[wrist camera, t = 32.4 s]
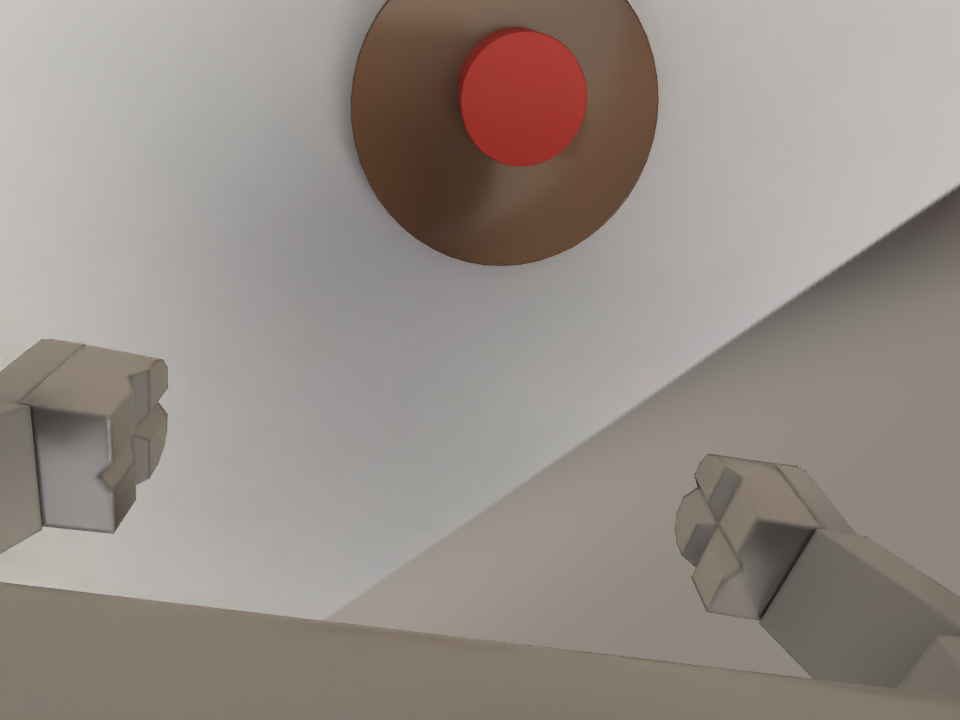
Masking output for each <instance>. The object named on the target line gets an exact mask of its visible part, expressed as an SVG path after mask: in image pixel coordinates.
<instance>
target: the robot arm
mask: <svg viewBox="0 0 960 720" xmlns="http://www.w3.org/2000/svg"><path fill="white" fill-rule="evenodd" d="M167 388H168V368H167V365H166V363H165V362H164V360H163V359H158V358H153V357H147V356H142V355H137V354H132V353H126V352H121V351H116V350H111V349H105V348H100V347H95V346H87V345H85V344H81V343H74V342H68V341H61V340H55V339H41V340H40V341H38V342H37V343H36V344H35V345H33V346H32V347H31V348H30V349H28V350H27V351H26V352H25V353H23V354H22V355H21V356H20V357H18V358H17V359H16V360H14V361H13V362H12V363H11V364H9V365H8V366H7V367H6V368H4V369H3V370H2V371H1V372H0V554H1V553H3V552H4V551H6V550H8V549H9V548H11V547H13V546H15V545H16V544H18V543H20V542H21V541H23V540H25V539H27V538H28V537H30V536H32V535H34V534H35V533H37V532H39V531H40V530H42V526H46V527H55V528H64V529H74V530H83V531H93V532H102V533H112V534H114V532H115V531H116V529H117V528H118V526H119V525H120V523H121V522H122V520H123V518H124V517H125V515H126V514H127V512H128V511H129V509H130V508H131V506H132V505H133V503H134V502H135V500H136V484H138V483H140V482H142V481H145V480H147V479H149V478H150V476H151V475H152V473H153V471H154V470H155V468H156V467H157V465H158V462H159V460H160V457H161V454H162V451H163V448H164V445H165V439H166V433H167V417H168V414H167V413H166V412H165V410H164V409H163V408H162V406H161V405H160V404H159V402H158V401H159V399H160V398H161V397H162V395H163V394H164V392H165V391H166V390H167ZM694 476H695V479H696V483H697V486H698V487H697V488H696V489H694V490H693V491H691V492H690V493H688V494H687V495H685V496H684V497H683V499H682V501H681V504H680V506H679V509H678V511H677V514H676V523H675V535H676V542H677V545H678V547H679V550H680V552H681V555H682V556H683V557H684V558H685V559H687V560H688V561H689V562H690V563H691V564H692V565H693V566H695V567H696V569H695V571H694V573H693V575H692V580H693V582H694V584H695V587H696V589H697V591H698V593H699V595H700V598H701V600H702V602H703V604H704V607H705V609H706V611H707V612H709V613H715V614H722V615H728V616H734V617H740V618H746V619H753V620H759V621H760V622H759V623H760V625H761V626H762V627H763V628H765V630H766V631H767V632H768V633H769V634H770V635H771V636H772V637H773V638H774V639H775V640H776V641H777V642H778V643H779V644H780V645H781V646H782V647H783V648H784V649H785V650H786V652H787V653H788V654H789V655H790V656H791V657H792V658H793V659H794V660H795V661H796V662H797V663H798V664H799V665H800V666H801V667H802V668H803V669H804V670H805V671H806V672H807V673H808V674H809V675H810V676H811V677H812V678H813V679H810V678H801V677H793V676H785V675H777V674H768V673H760V672H751V671H742V670H734V669H726V668H718V667H709V666H700V665H692V664H684V663H676V662H667V661H659V660H650V659H641V658H634V657H625V656H616V655H608V654H599V653H592V652H583V651H575V650H566V649H558V648H549V647H540V646H532V645H523V644H515V643H506V642H497V641H490V640H481V639H473V638H464V637H456V636H448V635H439V634H431V633H422V632H413V631H405V630H397V629H389V628H381V627H372V626H363V625H355V624H346V623H338V622H330V621H322V620H313V619H305V618H297V617H288V616H280V615H271V614H263V613H255V612H246V611H238V610H229V609H221V608H213V607H204V606H196V605H187V604H179V603H171V602H162V601H154V600H145V599H137V598H129V597H120V596H112V595H103V594H95V593H87V592H78V591H70V590H61V589H53V588H45V587H36V586H28V585H20V584H11V583H3V582H0V720H960V596H958V595H956V594H955V593H953V592H952V591H950V590H949V589H947V588H946V587H944V586H942V585H941V584H939V583H938V582H936V581H935V580H933V579H932V578H930V577H928V576H927V575H925V574H923V573H922V572H921V571H919V570H917V569H916V568H915V567H913V566H911V565H910V564H908V563H907V562H905V561H904V560H902V559H900V558H899V557H897V556H896V555H894V554H893V553H891V552H890V551H888V550H887V549H885V548H883V547H882V546H880V545H879V544H877V543H876V542H874V541H873V540H871V539H869V538H868V537H865V536H859V535H857V534H856V533H855V531H854V530H853V529H852V528H851V526H850V525H849V524H848V523H847V522H846V520H845V519H844V518H843V516H842V515H841V514H840V513H839V511H838V510H837V509H836V508H835V506H834V505H833V504H832V503H831V501H830V500H829V499H828V498H827V496H826V495H825V494H824V493H823V491H822V490H821V489H820V488H819V486H818V485H817V484H816V483H815V482H814V480H813V479H812V478H811V476H810V475H809V474H808V473H807V472H806V470H804V469H802V468H799V467H798V466H793V465H785V464H778V463H777V464H776V463H770V462H762V461H755V460H748V459H741V458H734V457H728V456H721V455H713V454H708V455H706V456H705V458H704V459H703V460H702V461H701V462H700V464H699V466H698V467H697V470H696V472H695V474H694Z"/></svg>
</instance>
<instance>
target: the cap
mask: <svg viewBox="0 0 960 720" xmlns="http://www.w3.org/2000/svg"><path fill="white" fill-rule="evenodd" d="M458 96H459V103H460V109H461V114H462V118H463V122H464V125H465V128H466V130H467V132H468V134H469V136H470V138H471V139H472V140H473V142H474V143H475V145H476V146H477V147H478V148H479V149H480V150H481V151H482V152H483V153H485V154H486V155H487V156H489V157H490V158H492V159H493V160H496V161H498V162H500V163H503V164H506V165H511V166H532V165H536V164H540V163H543V162H545V161H547V160H549V159H551V158H553V157H555V156H556V155H557V154H559V153H560V152H561V151H563V150H564V149H565V148H566V147H567V146H568V145H569V143H570V142H571V141H572V140H573V138H574V137H575V135H576V134H577V132H578V130H579V128H580V126H581V124H582V121H583V118H584V115H585V110H586V104H587V88H586V81H585V77H584V74H583V71H582V69H581V66H580V64H579V62H578V61H577V59H576V57H575V56H574V55H573V53H572V52H571V51H570V50H569V49H568V48H567V47H566V46H565V45H564V44H563V43H561V42H560V41H559V40H557V39H555V38H553V37H552V36H550V35H547V34H544V33H541V32H538V31H534V30H531V29H527V28H522V27H509V28H504V29H500V30H497V31H494V32H492V33H490V34H489V35H487V36H485V37H484V38H483V39H481V40H480V41H479V42H478V43H477V44H476V45H475V46H474V47H473V48H472V49H471V51H470V52H469V54H468V55H467V57H466V59H465V61H464V63H463V66H462V68H461V72H460V75H459V82H458Z"/></svg>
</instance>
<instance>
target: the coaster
mask: <svg viewBox="0 0 960 720" xmlns="http://www.w3.org/2000/svg"><path fill="white" fill-rule="evenodd" d="M509 27H522V28H527V29H531V30H534V31H538V32H541V33H544V34H547V35H550V36H552V37H553V38H555V39H557V40H559V41H560V42H561V43H563V44H564V45H565V46H566V47H567V48H568V49H569V50H570V51H571V52H572V53H573V55H574V56H575V57H576V59H577V61H578V62H579V64H580V66H581V69H582V71H583V74H584V77H585V81H586V88H587V104H586V110H585V115H584V118H583V121H582V124H581V126H580V128H579V130H578V132H577V134H576V135H575V137H574V138H573V140H572V141H571V142H570V143H569V145H568V146H567V147H566V148H565V149H564V150H563V151H561V152H560V153H559V154H557V155H556V156H555V157H553V158H551V159H549V160H547V161H545V162H543V163H540V164H536V165H532V166H511V165H506V164H503V163H500V162H498V161H496V160H493V159H492V158H490V157H489V156H487V155H486V154H485V153H483V152H482V151H481V150H480V149H479V148H478V147H477V146H476V145H475V143H474V142H473V140H472V139H471V138H470V136H469V134H468V132H467V130H466V128H465V125H464V122H463V118H462V114H461V109H460V103H459V96H458V82H459V75H460V72H461V68H462V66H463V63H464V61H465V59H466V57H467V55H468V54H469V52H470V51H471V49H472V48H473V47H474V46H475V45H476V44H477V43H478V42H479V41H480V40H481V39H483V38H484V37H485V36H487V35H489V34H490V33H492V32H494V31H497V30H500V29H504V28H509ZM657 114H658V82H657V73H656V68H655V63H654V57H653V54H652V51H651V47H650V44H649V41H648V38H647V35H646V33H645V31H644V29H643V27H642V25H641V23H640V20H639V18H638V16H637V15H636V13H635V12H634V10H633V9H632V7H631V5H630V4H629V2H628V1H627V0H387V1H386V3H385V4H384V5H383V7H382V8H381V10H380V11H379V12H378V14H377V15H376V17H375V19H374V21H373V23H372V25H371V27H370V29H369V30H368V32H367V34H366V37H365V39H364V42H363V45H362V47H361V50H360V53H359V55H358V59H357V63H356V68H355V72H354V76H353V84H352V94H351V122H352V129H353V135H354V142H355V146H356V149H357V153H358V157H359V160H360V163H361V166H362V168H363V171H364V173H365V175H366V178H367V180H368V182H369V184H370V186H371V187H372V189H373V191H374V193H375V194H376V196H377V198H378V199H379V201H380V202H381V203H382V205H383V206H384V207H385V209H386V210H387V211H388V213H389V214H390V215H391V216H392V217H393V218H394V219H395V220H396V221H397V222H398V223H399V224H400V225H401V226H402V227H403V228H404V229H405V230H406V231H407V232H409V233H410V234H411V235H412V236H414V237H415V238H416V239H417V240H419V241H421V242H422V243H424V244H426V245H427V246H429V247H431V248H432V249H434V250H436V251H438V252H441V253H443V254H445V255H447V256H449V257H453V258H456V259H459V260H462V261H466V262H470V263H476V264H482V265H494V266H508V265H521V264H526V263H531V262H536V261H540V260H543V259H546V258H549V257H552V256H555V255H557V254H559V253H561V252H563V251H566V250H568V249H570V248H572V247H574V246H575V245H577V244H578V243H580V242H582V241H583V240H585V239H586V238H588V237H589V236H590V235H592V234H593V233H594V232H595V231H597V230H598V229H599V228H600V227H602V226H603V225H604V224H605V223H606V222H607V221H608V220H609V219H610V218H611V217H612V216H613V215H614V214H615V213H616V211H617V210H618V209H619V208H620V206H621V205H622V204H623V202H624V201H625V200H626V199H627V197H628V196H629V194H630V193H631V191H632V189H633V188H634V186H635V184H636V183H637V181H638V179H639V177H640V175H641V173H642V170H643V168H644V166H645V164H646V162H647V159H648V156H649V152H650V149H651V146H652V143H653V139H654V134H655V129H656V123H657Z"/></svg>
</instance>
